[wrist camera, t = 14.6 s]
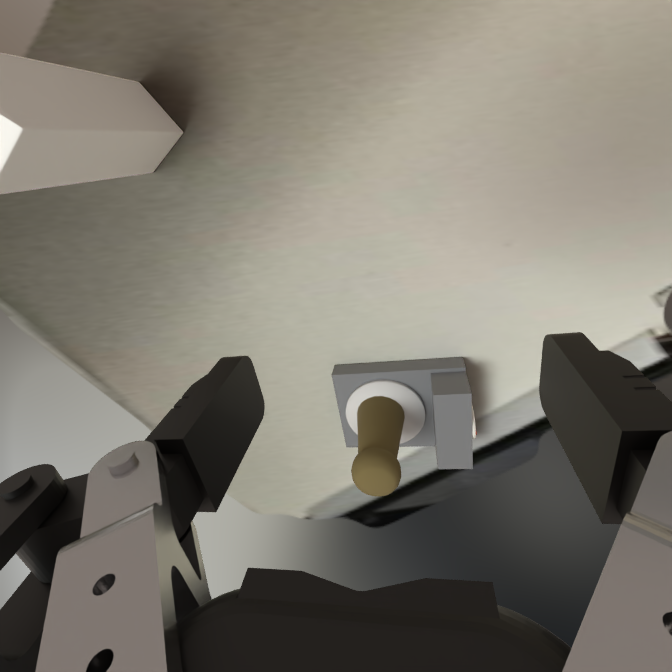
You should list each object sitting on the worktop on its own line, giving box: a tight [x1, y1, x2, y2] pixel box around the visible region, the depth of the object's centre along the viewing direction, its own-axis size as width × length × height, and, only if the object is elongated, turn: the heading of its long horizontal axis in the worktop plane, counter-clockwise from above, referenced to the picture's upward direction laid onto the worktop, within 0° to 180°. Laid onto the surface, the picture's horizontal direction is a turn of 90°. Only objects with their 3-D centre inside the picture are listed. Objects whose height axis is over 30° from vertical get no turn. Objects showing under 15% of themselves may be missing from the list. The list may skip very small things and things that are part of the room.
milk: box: [0, 52, 183, 194], centre depth 29 cm, size 6×6×22 cm
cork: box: [351, 396, 405, 496], centre depth 43 cm, size 6×6×11 cm
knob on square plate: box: [332, 357, 477, 469], centre depth 47 cm, size 16×12×7 cm
